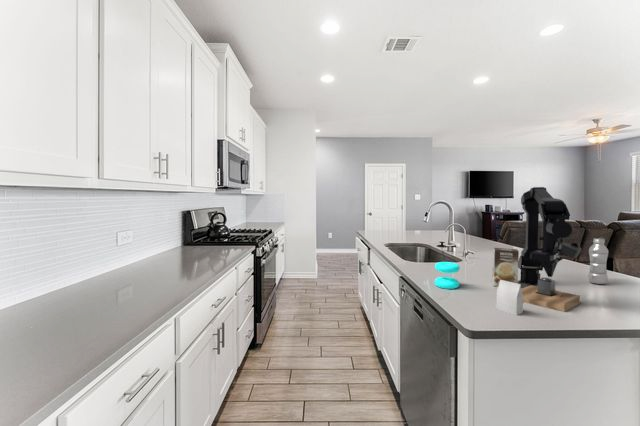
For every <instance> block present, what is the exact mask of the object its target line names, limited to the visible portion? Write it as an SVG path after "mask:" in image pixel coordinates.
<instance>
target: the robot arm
mask: <svg viewBox="0 0 640 426" xmlns="http://www.w3.org/2000/svg"><path fill="white" fill-rule="evenodd" d="M520 204H521V206H522V207H521V208H522V210H523V211H524V212H525V214H526V216H525V217H526V219H525V220H526V221H525V222H526V223H525V246H524V247H523V249H522V250H521V252H520V255H519V257H518V270H520V280H518V282H519V283H522V284H527V285H531V286H535V285H538V280H539V279H541V273H540V271H543V270H544V271H545V274H546V275H547V278H552V277H553V276H554V273H555V271H556V267H557V265H558V263H559V262H561V261H562V260H564V257H560V255H561V256H563V255H564V256H565V257H569V258H571V259H575V258H578V257H579V255H580V253H582V249H583V248H581V244H580V243H578V242H576V241H575V242H572V243H569V242H568V243H567V242H566V241H565V238H568V237H569V236H570V235H571V234H572V233H573V227H572V225H571V224H570V223H569V222H567V221H566V220H568V221H569V220H570V216H571V214H570V211H569V208H568V206H567V204H566V203H565V202H564V200H562V199H560V198H556V197H553V196H552V195H551V194H550V193H549V192H548V190H547V188H546V187H544V186H538V187H537V186H533V187H531V188H530V189H529V190H528V191H525V192H523V194H522V195H521V198H520ZM539 216H540V217H539ZM540 218H541V220H542V221H541V236H539V219H540ZM539 240H540V241H541V247H539Z"/></svg>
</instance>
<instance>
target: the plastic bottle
mask: <svg viewBox="0 0 640 426" xmlns="http://www.w3.org/2000/svg"><path fill="white" fill-rule="evenodd" d="M605 242H606V240H605V238H601V237H599V238H597V237H596V238H595V237H594V238H593V241H592V243H593V244H591V246H590V247H589V249H588V255H589V270H588V271H589V272H588V274H587V280H588V281H589V283H592V284H595V285H606V284H607V283H608V280H609V278H608V277H609V276H608V272H607V261H608V257H609V249H608V248H607V246H606V245H605Z"/></svg>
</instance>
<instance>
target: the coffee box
mask: <svg viewBox="0 0 640 426" xmlns="http://www.w3.org/2000/svg"><path fill="white" fill-rule="evenodd" d="M492 252H493V253H492V254H493V257H492V279H491V280H492V281H491V284H492V286H493V287H496V288H498V286H499V283H500V280H504V281H508V282H512V283H517V284H519V283H518V282H519V268H518V261H519V258H520V253H519V250H518V249H515V248H503V247H502V248H501V247H493V251H492Z"/></svg>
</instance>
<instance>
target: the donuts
mask: <svg viewBox="0 0 640 426" xmlns="http://www.w3.org/2000/svg"><path fill="white" fill-rule="evenodd" d="M434 268H435V270H436V271H438V272H440V273H443V274H454V273H458V272H459V271H460V269H461V268H460V265H459V264H457V262H456V263H455V262H452V261H451V262H450V261H440V262H439V261H438V262H436V263H435V264H434ZM434 284H435V286H436V287H438V288H440V289H446V290H447V289H448V290H454V289H457V288H459V287H460V282H459V280H458V279H456V278H454V277H450V276H439V277H437V278H435V280H434Z"/></svg>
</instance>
